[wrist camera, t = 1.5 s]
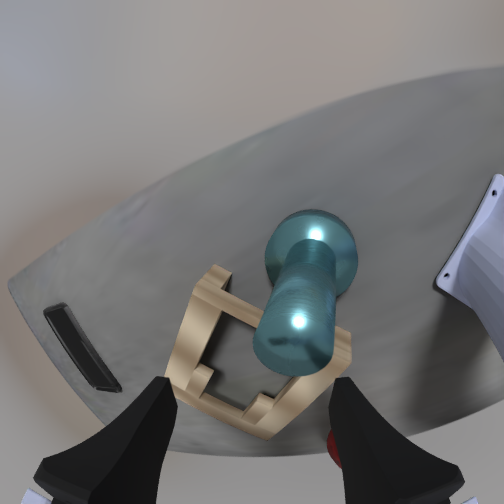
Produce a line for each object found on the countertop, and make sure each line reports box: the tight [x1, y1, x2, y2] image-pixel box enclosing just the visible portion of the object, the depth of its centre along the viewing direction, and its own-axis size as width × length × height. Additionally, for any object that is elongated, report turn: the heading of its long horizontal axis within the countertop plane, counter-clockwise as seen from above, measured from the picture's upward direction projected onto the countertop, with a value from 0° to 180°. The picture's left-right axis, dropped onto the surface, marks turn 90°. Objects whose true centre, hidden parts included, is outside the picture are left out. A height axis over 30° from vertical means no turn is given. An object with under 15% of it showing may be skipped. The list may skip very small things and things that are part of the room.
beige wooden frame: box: [164, 264, 351, 441], centre depth 23 cm, size 14×12×4 cm
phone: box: [43, 302, 122, 393], centre depth 33 cm, size 8×1×15 cm
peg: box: [253, 209, 358, 377], centre depth 15 cm, size 6×6×10 cm
